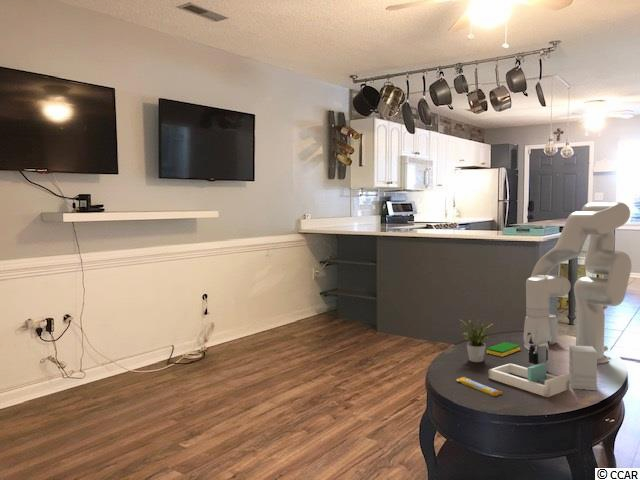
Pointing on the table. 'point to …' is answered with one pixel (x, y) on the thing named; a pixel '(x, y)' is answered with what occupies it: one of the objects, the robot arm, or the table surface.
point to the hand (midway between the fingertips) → (538, 361)
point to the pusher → (537, 373)
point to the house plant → (476, 342)
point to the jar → (541, 353)
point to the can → (553, 328)
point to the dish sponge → (503, 349)
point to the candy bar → (478, 386)
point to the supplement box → (583, 367)
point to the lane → (551, 383)
